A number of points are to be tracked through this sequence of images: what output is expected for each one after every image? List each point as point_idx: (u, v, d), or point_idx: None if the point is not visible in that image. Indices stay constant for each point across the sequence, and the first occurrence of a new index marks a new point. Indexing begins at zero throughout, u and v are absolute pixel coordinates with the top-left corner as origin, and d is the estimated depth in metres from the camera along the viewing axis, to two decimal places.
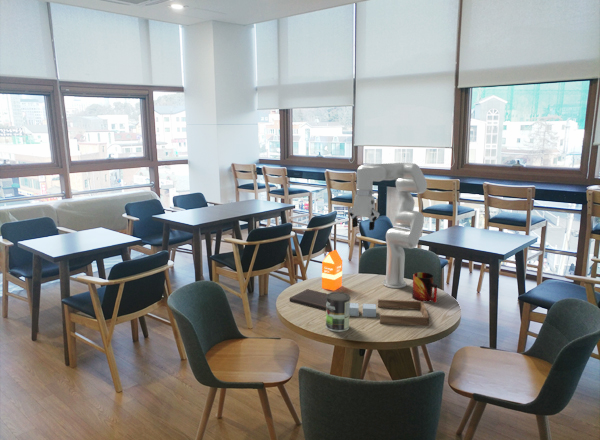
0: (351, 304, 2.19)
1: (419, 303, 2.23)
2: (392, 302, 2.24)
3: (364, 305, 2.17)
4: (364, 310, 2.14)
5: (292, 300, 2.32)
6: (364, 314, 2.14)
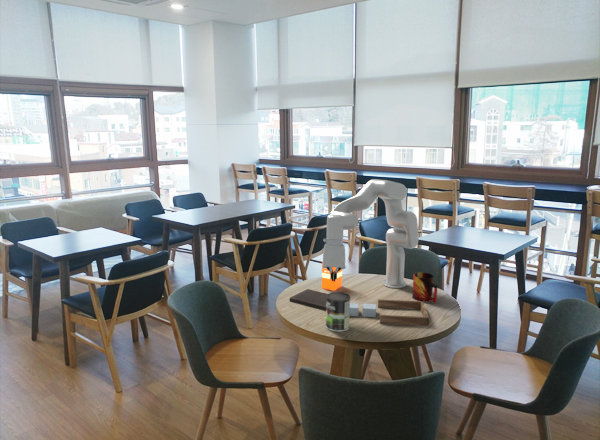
0: (351, 304, 2.19)
1: (419, 303, 2.23)
2: (392, 302, 2.24)
3: (364, 305, 2.17)
4: (364, 310, 2.14)
5: (292, 300, 2.32)
6: (364, 314, 2.15)
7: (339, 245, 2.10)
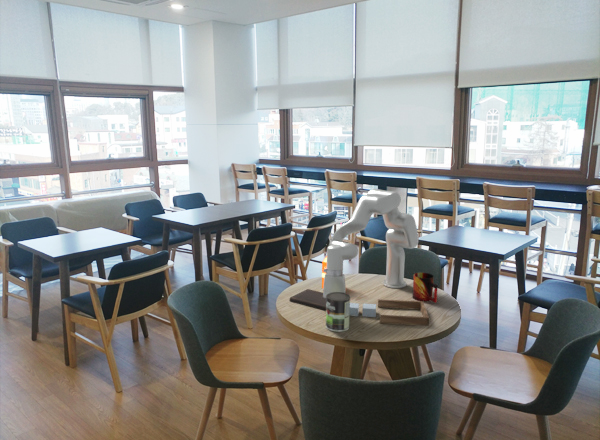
0: (351, 304, 2.19)
1: (419, 303, 2.23)
2: (392, 302, 2.24)
3: (364, 305, 2.18)
4: (364, 310, 2.14)
5: (292, 300, 2.32)
6: (364, 314, 2.15)
7: (339, 276, 2.12)
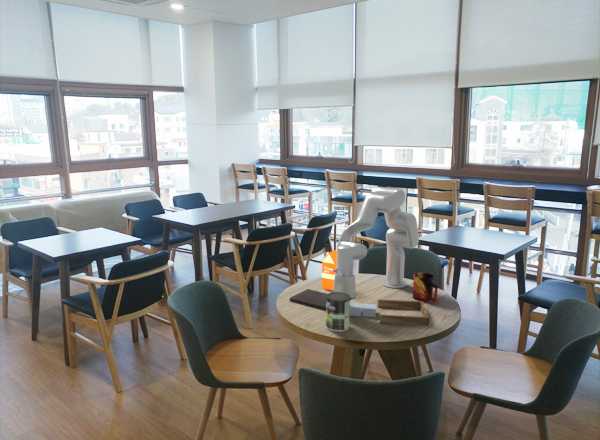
0: (354, 304, 2.19)
1: (419, 303, 2.23)
2: (392, 302, 2.24)
3: (364, 305, 2.18)
4: (363, 310, 2.14)
5: (292, 300, 2.32)
6: (364, 314, 2.15)
7: (349, 276, 2.12)
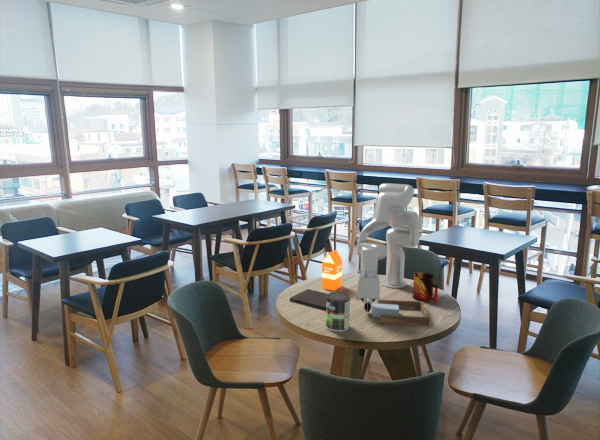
0: (378, 305, 2.17)
1: (419, 303, 2.23)
2: (392, 302, 2.24)
3: (386, 306, 2.16)
4: (387, 311, 2.13)
5: (292, 300, 2.32)
6: None
7: (374, 277, 2.11)
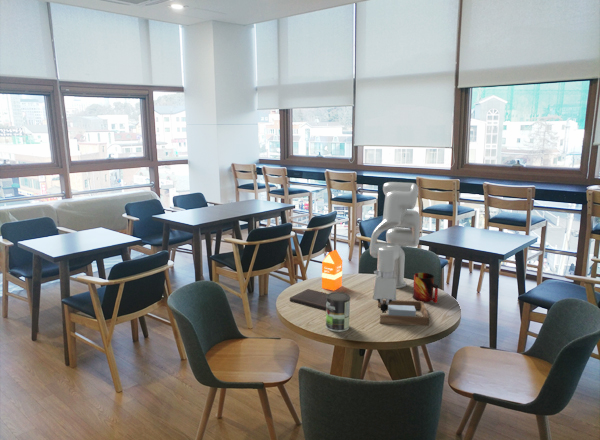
0: (394, 306, 2.17)
1: (419, 303, 2.23)
2: (392, 302, 2.24)
3: (403, 307, 2.15)
4: (403, 312, 2.12)
5: (292, 300, 2.32)
6: None
7: (390, 277, 2.10)
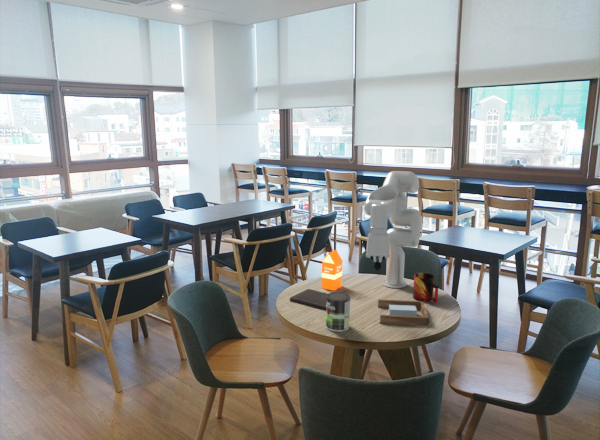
0: (395, 306, 2.16)
1: (419, 303, 2.23)
2: (392, 302, 2.24)
3: (404, 307, 2.16)
4: (404, 312, 2.12)
5: (292, 300, 2.32)
6: None
7: (384, 234, 2.07)
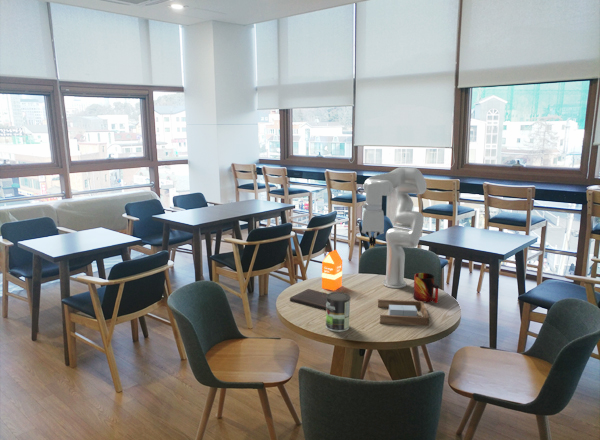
0: (395, 306, 2.16)
1: (419, 303, 2.23)
2: (392, 302, 2.24)
3: (404, 307, 2.16)
4: (405, 312, 2.12)
5: (292, 300, 2.32)
6: None
7: (378, 210, 2.20)
